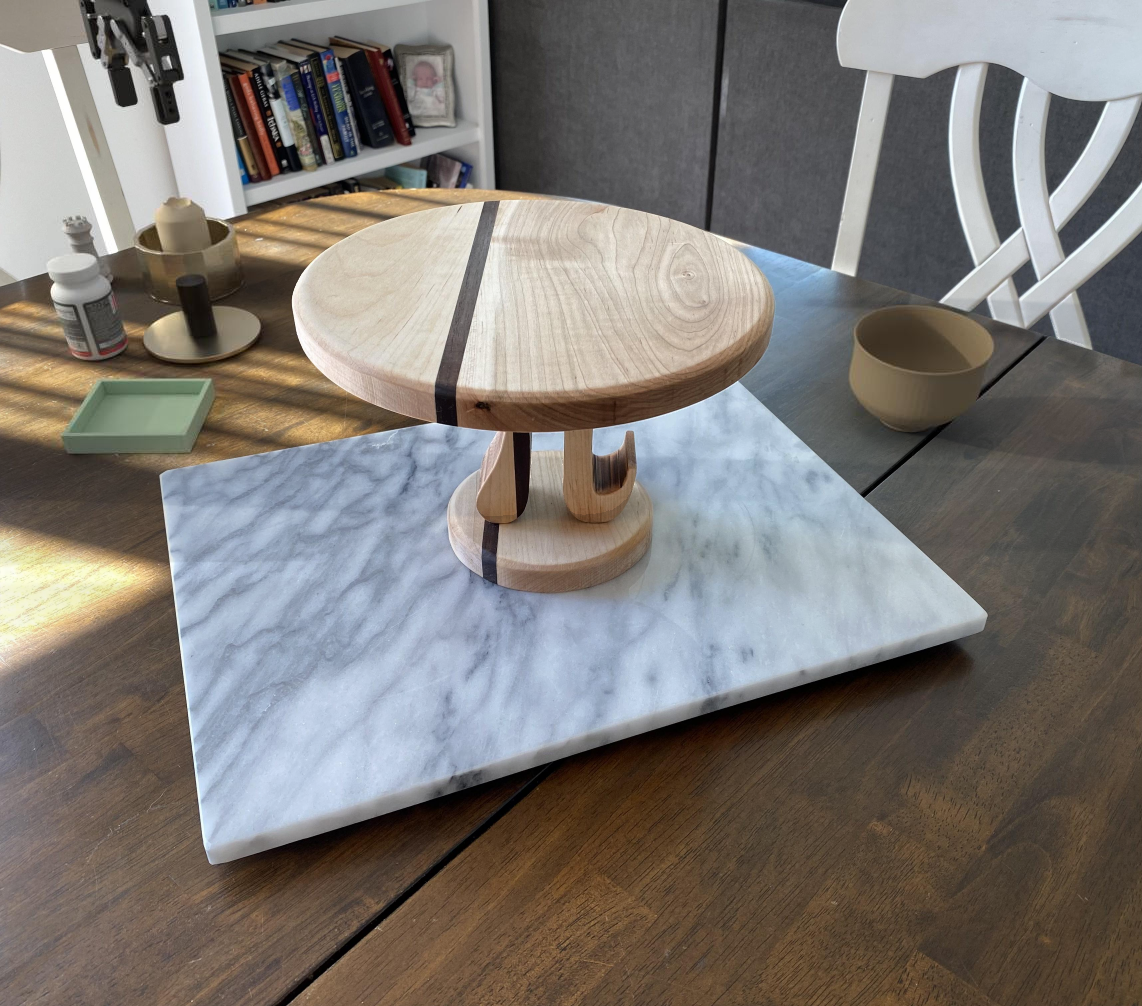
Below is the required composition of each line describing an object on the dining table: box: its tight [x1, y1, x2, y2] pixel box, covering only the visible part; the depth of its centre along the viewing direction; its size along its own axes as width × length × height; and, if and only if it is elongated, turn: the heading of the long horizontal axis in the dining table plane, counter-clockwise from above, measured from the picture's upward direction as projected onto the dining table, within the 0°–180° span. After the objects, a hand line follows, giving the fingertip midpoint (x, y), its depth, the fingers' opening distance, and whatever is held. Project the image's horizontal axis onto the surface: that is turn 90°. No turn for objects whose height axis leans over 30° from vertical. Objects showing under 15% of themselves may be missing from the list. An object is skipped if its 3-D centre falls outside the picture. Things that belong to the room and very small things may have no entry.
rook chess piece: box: [61, 214, 114, 285], centre depth 110 cm, size 4×4×8 cm
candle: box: [153, 196, 212, 252], centre depth 110 cm, size 6×6×10 cm
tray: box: [60, 378, 217, 455], centre depth 89 cm, size 11×10×2 cm
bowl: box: [848, 304, 996, 433], centre depth 91 cm, size 13×13×10 cm
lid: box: [142, 274, 262, 364], centre depth 100 cm, size 12×12×7 cm
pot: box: [132, 216, 245, 306], centre depth 111 cm, size 11×11×6 cm
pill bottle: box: [46, 252, 129, 361], centre depth 97 cm, size 6×6×10 cm
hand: (148, 114), depth 100 cm, fingers open, 8 cm apart
